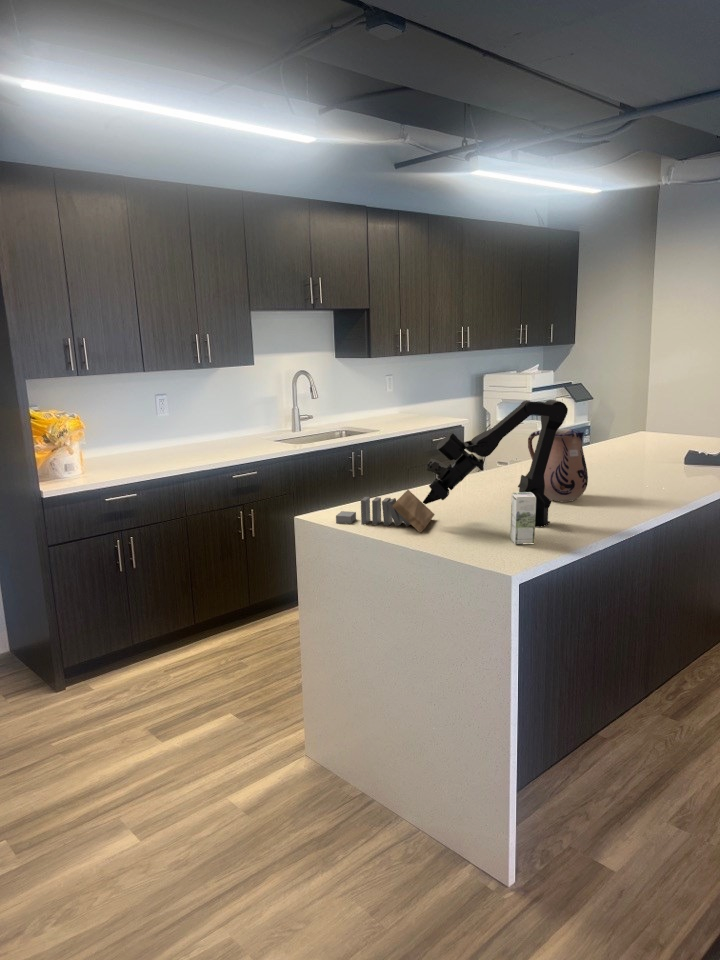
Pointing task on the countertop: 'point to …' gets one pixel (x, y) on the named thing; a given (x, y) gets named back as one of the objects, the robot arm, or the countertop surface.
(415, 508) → the board
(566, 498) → the ceramic pitcher
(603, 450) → the countertop surface
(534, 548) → the countertop surface
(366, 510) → the domino
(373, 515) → the domino
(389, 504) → the domino
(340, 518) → the block
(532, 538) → the syrup box
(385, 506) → the domino
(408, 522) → the domino
